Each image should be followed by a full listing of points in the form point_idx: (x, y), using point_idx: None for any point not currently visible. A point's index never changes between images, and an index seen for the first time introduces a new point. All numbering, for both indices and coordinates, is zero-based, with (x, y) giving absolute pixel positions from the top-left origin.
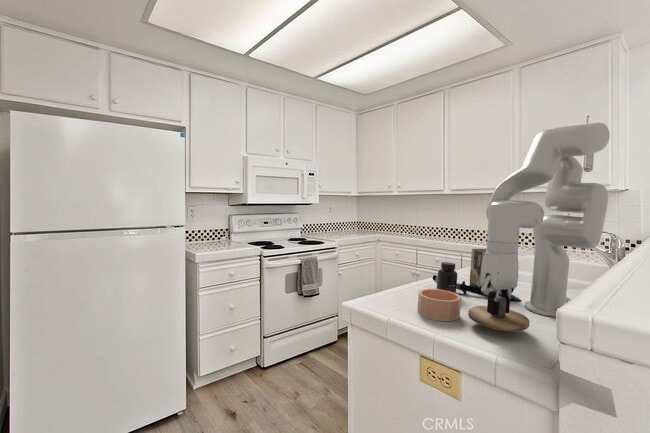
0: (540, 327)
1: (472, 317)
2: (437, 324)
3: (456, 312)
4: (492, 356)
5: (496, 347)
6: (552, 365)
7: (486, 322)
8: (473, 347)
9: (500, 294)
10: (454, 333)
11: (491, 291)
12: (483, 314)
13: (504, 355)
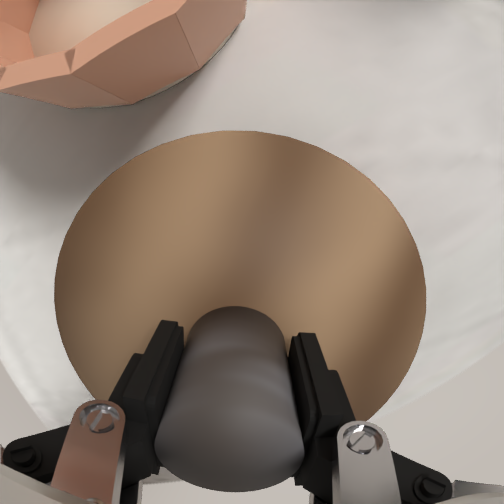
0: (440, 362)
1: (59, 265)
2: (7, 122)
3: (102, 96)
4: (27, 396)
5: (73, 386)
6: (151, 482)
7: (73, 360)
8: (5, 341)
9: (333, 444)
10: (4, 233)
11: (115, 490)
12: (154, 286)
13: (63, 414)
